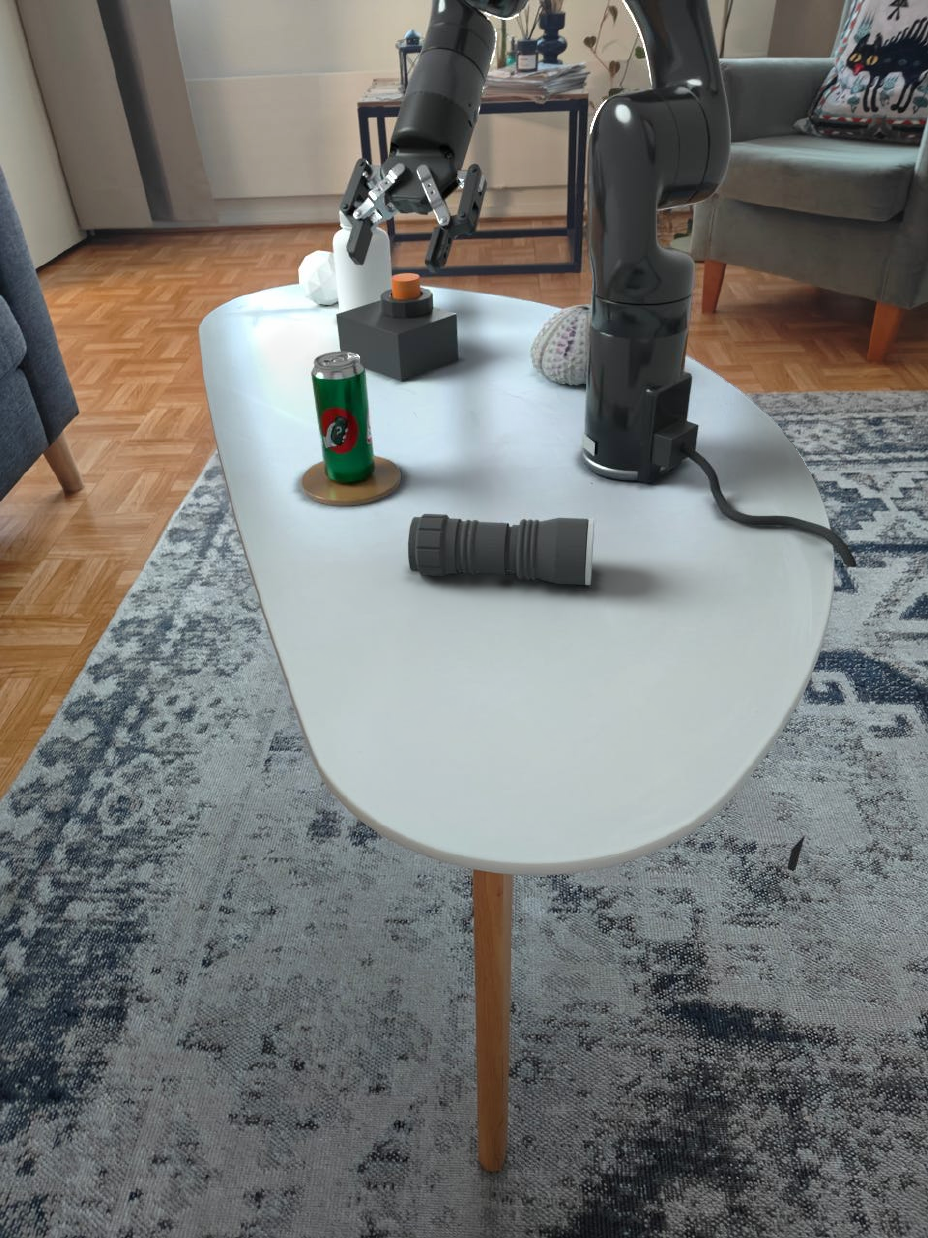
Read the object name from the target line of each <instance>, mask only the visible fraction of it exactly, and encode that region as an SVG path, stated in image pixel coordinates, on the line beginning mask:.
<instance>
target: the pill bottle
mask: <svg viewBox="0 0 928 1238" xmlns="http://www.w3.org/2000/svg"><path fill="white" fill-rule="evenodd" d="M375 211H376V209H375V210H374V211H373V212H372V213H374V212H375ZM372 213H371V214H372ZM371 214H369V215H368V217H369V216H370V215H371ZM338 215H339V224H340V227H341V228H342V229H340V230H338V231H337V232H335V234H334V236H333V239H332V253H333V254H334V261H335V271H336V281H337V291H338V311H339V313H342V312H345V311H348V310H351V309H354V308H357V307H361V306H364V305H367V304H370V303H373V302H376V301H379V300H381V297H380V296H381V294H382V293H384V292H385V291H387V290H391V289H392V283H391V277H392V276H393V274H392V273H393V272H392V260H391V259H392V257H391V245H390V243H391V242H390V237H389V235H388V233H387V232H386V230H384V229H382V228H381V227H378V226H377V227H376V228H375V229H374V230H373V231H372V233H373V236H372V239H371V242H370V246H369V249H368V252H367V255H366V259H365V262H364V264H363V265H355V264H354V262H353V261H352V260H351V259H350V257H349V254H348V252H347V250H346V246H347V242H348V239H349V236H350V233H351V230H352V226H353V225H351V224H350V222H349V221H348V220H347V218H346V217H345V215H344V214H343V213H342V211H341V210H340V209H339V211H338Z"/></svg>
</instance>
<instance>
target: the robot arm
mask: <svg viewBox="0 0 928 1238" xmlns="http://www.w3.org/2000/svg"><path fill="white" fill-rule="evenodd" d="M529 1H530V0H431V9H430V16H429V22H428V26H427V30H426V33H425V36H424V40H423V43H422V46H421V49H420V53H419V56H418V59H417V62H416V64H415V67H414V69H413V70H412V73H411V75H410V77H409V79H408V83H407V86H406V89H405V92H404V96H403V99H402V102H401V105H400V108H399V111H398V115H397V117H396V121H395V124H394V128H393V131H392V134H391V137H390V141H389V151H388V156H387V158H386V160H385V161H384V162H383V163H382V164H381V165H378V164H377V165H375V164H369V162H368V161H367V159H366V158H364V157H360V158H358V160H357V161H356V162H355V165H354V166H353V167H354V168H353V170H352V172H351V175H350V178H349V181H348V183H347V186H346V189H345V191H344V194H343V198H342V200H341V202H340V204H339V211H340V210H341V211H342V213H343V214H344V215H345V217H346V218H347V220H348V221H349V222H350V224H351V225H353V226H352V230H351V233H350V236H349V239H348V242H347V246H346V250H347V252H348V254H349V257H350V259H351V260H352V261H353V262H354V264H355V265H363V264H364V262H365V259H366V255H367V252H368V249H369V246H370V242H371V239H372V236H373V233H372V231H373V230H374V229H375V228H376V227H378V226H380V224H381V223H383V222H384V221H389V220H391V219H392V218H393V217H394V216H395V215H396V214H398V213H399V214H405V215H406V214H407V215H408V214H412V213H416V214H417V215H421V216H428V215H429V213H431V212H433V213H434V216H435V218H436V220H437V223H438V226H434V227H433V230H432V233H431V237H430V240H429V243H428V246H427V250H426V254H425V256H424V265H425V266H426V268H427V270H428V272H429V273H432V274H439V273H440V270H441V268H442V269H443V268H444V267H445V266H446V264H447V262H448V258H449V255H450V252H451V249H452V245H453V243H454V240H455V239H456V238H458V236H460V235H463V234H465V235H467V236H473V235H474V234H475V233H476V232H477V228H478V224H479V220H480V216H481V211H482V208H483V207H482V206H483V204H484V199H485V194H486V190H487V186H488V182H487V180H486V177H485V175H484V173H483V171H482V169H481V167H480V165H479V164H478V163H472V164H470V165H469V166H468V167H467V169H463V166H464V163H465V159H466V156H467V154H468V149H469V146H470V143H471V140H472V136H473V134H474V130H475V127H476V124H477V122H478V118H479V113H480V110H481V106H482V98H483V92H484V89H485V88H484V87H485V85H486V81H487V78H488V75H489V71H490V68H491V65H492V61H493V58H494V56H495V51H496V46H497V32H496V29H495V27H494V25H493V24H492V22H491V20H490V19H489V18H488V17H487V16H486V15H488V16H491V17H495V18H498V19H502V20H511V19H513V18H515V17H517V16H519V14H520V13H521V12H522V11H523V10H524V9H525V8H526V7H527V5H528V3H529ZM622 2H623V3H624V5H625V7H626V9H627V10H628V12H629V14H630V15H631V17H632V20H633V21H634V23H635V25H636V27H637V30H638V33H639V35H640V39H641V41H642V43H643V44H642V45H643V48H644V53H645V57H646V61H647V66H648V71H649V78H650V83H651V88H645V89H637V90H629V91H624V92H619V93H615V94H613V95H611V96H610V97H608V98H607V99H605V101H604V102H602V104H601V105H600V107H599V108H598V110H597V111H596V113H595V116H594V118H593V121H592V123H591V127H590V132H589V137H588V142H587V152H586V249H587V255H588V256H587V257H588V261H589V266H590V273H591V292H590V304H591V310H590V328H589V347H588V367H587V385H586V387H585V388H586V389H585V407H584V408H585V409H584V428H583V429H584V430H583V432H584V433H582V436H581V437H582V439H581V441H582V442H581V447H582V451H581V461H582V463H583V465H584V466H585V467H586V468H587V469H588V470H590V471H591V472H593V473H595V474H596V475H598V476H601V477H605V478H609V479H613V480H620V481H638V482H641V483H643V484H649V483H651V482H654V480H656V479H658V478H660V477H661V476H662V475H665V474H667V473H668V472H669V471H671V470H673V469H675V468H676V467H678V466H680V465H682V464H683V461H685V460H686V459H688V458H689V459H690V460H691V461H693V462H694V464H696V465H697V466H698V467H699V468H700V469H701V470H702V471H703V473H704V474H705V476H706V477H707V479H708V482H709V486H710V492H711V494H712V497H713V499H714V500H715V502H716V504H717V506H718V508H719V509H720V511H721V513H722V514H723V515H724V516H725V517H727V518H728V519H731V520H733V521H735V522H737V523H741V524H743V525H750V526H786V527H790V528H794V529H798V530H801V531H805V532H808V533H811V534H814V535H816V536H819V537H821V538H823V539H825V540H826V541H827V542H829V544H831V546H833V548H834V549H835V550H836V551H837V553H838V555H839V556H840V558H841V560H842V562H843V564H844V565H845V566H847V567H849V568H857V567H858V564H857V561H856V559H855V557H854V555H853V553H852V551H851V550H850V548H849V547H848V545H847V543H846V542H845V541H844V540H843V538H841V537H840V536H839V535H838V534H837V533H836V532H835V531H833V530H831V528H828V527H826V526H824V525H822V524H818V523H814V522H811V521H809V520H808V521H807V520H804V519H801V518H798V517H793V516H788V515H751V514H746V513H743V512H741V511H738V510H736V509H734V508H733V507H731V505H730V504H729V503H728V501H727V499H726V498H725V495H724V494H723V492H722V489H721V485H720V479H719V476H718V474H717V472H716V470H715V468H714V467H713V466H712V465H711V463H709V461H708V460H707V459H706V457H704V456H703V455H702V454H700V453H699V452H698V451H696V448H697V442H698V434H699V426H700V425H699V424H698V423H695V422H691V421H688V415H689V408H690V407H689V406H690V401H691V400H690V399H691V392H692V391H691V390H692V383H693V375H692V373H690V372H688V371H685V368H686V367H685V366H686V357H687V349H688V341H689V332H690V331H689V330H690V323H691V314H692V306H693V296H694V289H695V280H696V263H695V260H694V259H693V257H692V256H691V255H690V254H688V252H685V251H683V250H680V249H678V248H674V247H671V246H668V245H663V244H661V243H659V240H658V239H659V238H658V211H659V212H660V211H664V210H669V209H675V208H680V207H687V206H691V205H698V204H700V203H703V202H706V201H708V200H709V199H710V198H712V197H713V196H714V195H715V194H716V193H717V192H718V191H719V190H720V188H721V187H722V184H723V183H724V181H725V179H726V175H727V172H728V169H729V166H730V160H731V150H732V128H731V127H732V126H731V117H730V111H729V105H728V104H729V103H728V99H727V98H728V97H727V92H726V88H725V82H724V78H723V77H724V76H723V72H722V68H721V63H720V57H719V51H718V47H717V42H716V37H715V32H714V27H713V21H712V17H711V11H710V10H711V9H710V5H709V0H622ZM485 14H486V15H485ZM459 187H460V188H461V190H462V192H461V196H460V200H459V205H458V208H457V213H456V214H453V215H452V212H451V211H450V208H449V206H448V203H447V202H446V200H447V199H448V198H449V197H450V196H451V195H452V194H453V193H454V192H455V191H456V190H457V189H458V188H459ZM386 196H387V199H388V200H389V202H388V203H387V204H385V203H384V202H383V200H384V198H385V197H386ZM375 209H376V211H375V212H374V213H372V212H373V211H374V210H375ZM371 213H372V214H371ZM369 214H371V215H370V216H369V217H368V215H369ZM805 838H806V834H803V836H802V837H801V838H800V840H798V842H797V843H796V844H795V845H794V846H793V848H792V849H791V851H790V854H789V858H788V862H787V866H786V868H787V867H788V869H789V870H792V871H794V870H795V869H796V870H797V866H798V862H799V858H800V854H801V851H802V848H803V844H804V840H805ZM796 870H795V871H796Z"/></svg>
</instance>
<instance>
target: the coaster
mask: <svg viewBox="0 0 928 1238" xmlns="http://www.w3.org/2000/svg"><path fill="white" fill-rule="evenodd" d="M374 461H375V471H374V472H373V474H372V475H371V476H370V477H369V478H368V479H367V480H365V481H363V482H360V483H356V484H339V483H336V482H334V481H332V480H331V479H329V478H328V477H327V476H326V474H325V469H324V462H323V460H322V461H319V462H318V463H315V464H313V465H312V466H311V467H309V468H308V469H307V470H306V471H305V472H304V473H303V475H302V477H301V480H300V481H301V483H300V484H301V489H302V492H303V494H305V496H307V498H309V499H311V500H313V501H315V502H316V503H319V504H324V505H329V506H337V507H338V506H339V507H348V506H349V507H350V506H359V505H360V506H361V505H366V504H370V503H373V502H376V501H379V500H381V499H383V498H385V497H388V496H389V495H391V494H393V493H394V492H395V491H396V490H397V489H398V487H399V486H400V485H401V481H402V473H401V470H400V468H399V467H398V465H397V464H396V463H395V462H393V461H391V460H390V459H387V458H385V457H381V456H378V455H374Z"/></svg>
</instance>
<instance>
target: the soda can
mask: <svg viewBox="0 0 928 1238" xmlns="http://www.w3.org/2000/svg"><path fill="white" fill-rule="evenodd" d="M313 365H314V366H313V368H312V369H311V371H310V376H311V382H312V390H313V397H314V404H315V411H316V418H317V426H318V432H319V433H318V434H319V439H320V448H321V455H322V461H323V462H324V469H325V474H326V476H327V477H328V478H329V479H331V480H332V481H334V482H336V483H339V484H356V483H360V482H363V481H365V480H367V479H368V478H369V477H370V476H371V475H372V474H373V472H374V471H375V461H374V456H375V452H374V444H373V432H372V424H371V423H372V422H371V414H370V413H371V411H370V403H369V393H368V384H367V374H366V368H365V367H364V366H363V364H362V363H361V362H360V357H359V356H358V355H357V354H355V353H351V352H340V351H331V352H330V351H329V352H327V353H322V354H320V355H318V356H317V357H315V358H314V360H313Z"/></svg>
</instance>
